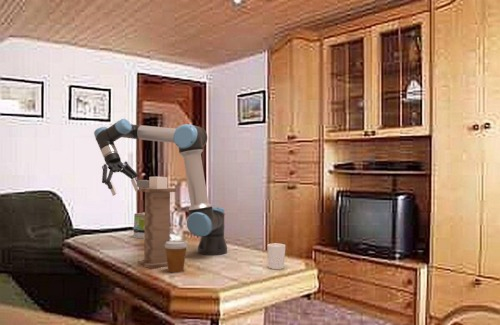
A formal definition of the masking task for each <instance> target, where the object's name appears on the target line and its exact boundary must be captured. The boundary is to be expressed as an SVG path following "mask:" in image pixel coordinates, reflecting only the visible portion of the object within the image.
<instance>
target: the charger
mask: <svg viewBox="0 0 500 325" xmlns="http://www.w3.org/2000/svg"><path fill="white" fill-rule="evenodd" d="M136 180H137V187H139V188H154V189H167V188H168V176H149V180H147V179H139V180H138V179H136Z"/></svg>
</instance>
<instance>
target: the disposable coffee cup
mask: <svg viewBox="0 0 500 325" xmlns="http://www.w3.org/2000/svg"><path fill="white" fill-rule="evenodd" d="M165 248H166V256H167V264H168V267H167V271H168V272H170V273H181V272H184V268H185V259H186V252H187V248H188V242H187V241H186V240H170V241H167V242H166V244H165Z"/></svg>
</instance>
